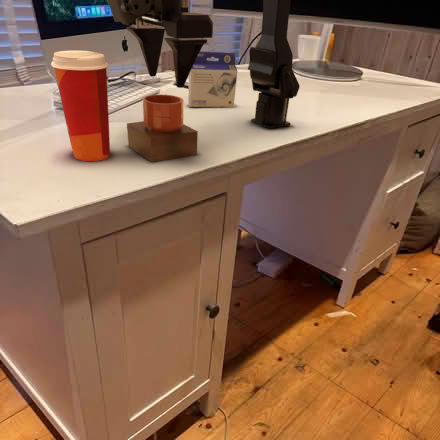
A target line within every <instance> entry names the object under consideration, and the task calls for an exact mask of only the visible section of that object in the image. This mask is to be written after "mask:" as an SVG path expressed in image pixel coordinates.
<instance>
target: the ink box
mask: <svg viewBox="0 0 440 440" xmlns="http://www.w3.org/2000/svg"><path fill="white" fill-rule="evenodd" d="M236 54H237V53H236V52H226V51H225V52H223V51H200V52H199V54H198V56H197V58H196V60H195V62H194V64H193V67H192V69H191V71H190V73H189V76H188V94H187V95H188V97H187V102H188V103H187V104H188V107H189V108H208V107H209V108H234V107H235V98H236V89H237V79H238V67H237V65H236V57H237V55H236ZM211 58H214V59H218V60H208V59H211Z"/></svg>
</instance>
